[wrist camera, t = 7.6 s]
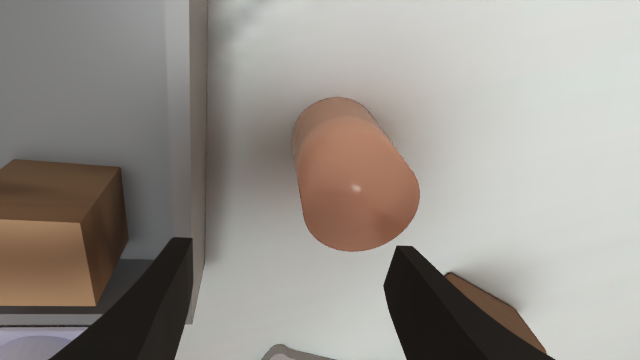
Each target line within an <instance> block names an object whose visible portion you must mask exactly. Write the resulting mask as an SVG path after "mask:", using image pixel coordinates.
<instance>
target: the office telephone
mask: <svg viewBox="0 0 640 360" xmlns="http://www.w3.org/2000/svg"><path fill="white" fill-rule="evenodd" d="M262 360H335V359H330V358H325V357H321V356H317V355H313V354H309V353H304V352H300V351H296V350H292V349H289V348H287V347H286V346H285V345H282V344H277V345H274V346H273V347H272V348H271V349H270V350H269V351H268V352H267V353H266V354H265V356H264V357H263V358H262Z"/></svg>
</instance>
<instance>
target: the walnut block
mask: <svg viewBox="0 0 640 360" xmlns="http://www.w3.org/2000/svg"><path fill="white" fill-rule="evenodd" d="M128 241H129V237H128V229H127V220H126V211H125V203H124V194H123V185H122V177H121V168H120V167H114V166H101V165H87V164H74V163H61V162H47V161H34V160H21V159H13V160H12V161H10V162H9V163H8V164H6V165H5V166H4V167H2V168H1V169H0V306H96V305H97V303H98V301H99V299H100V297H101V295H102V293H103V291H104V289H105V287H106V285H107V283H108V281H109V279H110V277H111V275H112V273H113V271H114V269H115V267H116V265H117V263H118V261H119V259H120V257H121V255H122V253H123V251H124V249H125V247H126V245H127V243H128Z"/></svg>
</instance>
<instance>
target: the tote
mask: <svg viewBox="0 0 640 360" xmlns="http://www.w3.org/2000/svg"><path fill="white" fill-rule="evenodd" d="M207 45H208V0H0V169H1V168H2V167H4V166H5V165H6V164H8V163H9V162H10V161H12V160H13V159H21V160H34V161H47V162H61V163H74V164H87V165H101V166H114V167H120V168H121V177H122V185H123V194H124V203H125V211H126V220H127V229H128V237H129V241H128V243H127V245H126V247H125V249H124V251H123V253H122V255H121V257H120V259H119V261H118V263H117V265H116V267H115V269H114V271H113V273H112V275H111V277H110V279H109V281H108V283H107V285H106V287H105V289H104V291H103V293H102V295H101V297H100V299H99V301H98V303H97V305H96V306H0V325H92V324H93V323H94V322H95V321H96V320H97V319H99V318H100V317H101V316H102V315H103V314H104V313H105V312H106V311H107V310H108V309H109V308H110V307H111V306H112V305H114V304H115V303H116V301H117V300H118V299H119V298H120V297H121V296H122V295H123V294H124V293H125V292H126V291H127V290H128V289H129V288H130V287H131V286H132V285H133V284H134V283H135V282H136V281H137V280H138V278H139V277H140V276H141V275H142V274H143V273H144V272H145V270H146V269H147V268H148V267H149V266H150V265H151V263H152V262H153V261H154V260H155V259H156V257H157V256H158V255H159V254H160V252H161V251H162V250H163V248H164V247H165V246H166V244H167V243H168V242H169V240H170V239H171V238H173V237H185V238H193V278H194V283H193V289H192V295H191V301H190V306H189V311H188V315H187V318H186V322H185V324H192V323H193V318H194V313H195V308H196V303H197V298H198V293H199V288H200V283H201V278H202V273H203V268H204V263H205V204H206V124H207Z"/></svg>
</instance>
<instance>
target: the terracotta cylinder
mask: <svg viewBox="0 0 640 360" xmlns="http://www.w3.org/2000/svg"><path fill="white" fill-rule="evenodd" d="M292 149H293V155H294V161H295V167H296V173H297V179H298V185H299V192H300V198H301V204H302V210H303V216H304V220H305V223H306V226H307V228H308V229H309V231H310V233H311V234H312V235H313V236H314V237H315V238H316V239H317V240H318V241H320V242H321V243H323V244H324V245H326V246H328V247H330V248H333V249H336V250H341V251H349V252H354V251H365V250H369V249H373V248H376V247H379V246H381V245H384V244H386V243H387V242H389V241H391V240H392V239H394V238H395V237H397V236H398V235H399V234H400V233H401V232H403V230H404V229H405V228H406V227H407V226H408V225H409V223H410V222H411V221H412V219H413V217H414V216H415V213H416V211H417V208H418V204H419V198H420V190H419V184H418V181H417V179H416V177H415V175H414V173H413V172H412V170H411V169H410V168H409V166H408V165H407V163H406V162H405V161H404V159H403V158H402V157H401V155H400V154H399V153H398V151H397V150H396V149H395V147H394V146H393V144H392V143H391V142H390V140H389V139H388V138H387V136H386V135H385V134H384V132H383V131H382V130H381V128H380V127H379V126H378V124H377V123H376V121H375V120H374V119H373V117H372V116H371V115H370V113H369V112H368V111H367V110H366V109H365V108H364V107H363V106H362V105H361V104H359V103H357V102H355V101H354V100H351V99H348V98H342V97H332V98H326V99H323V100H320V101H318V102H316V103H314V104H312V105H311V106H309V107H308V108H307V109H306V110H304V112H303V113H302V114H301V115H300V116H299V118H298V119H297V121H296V123H295V125H294V128H293V132H292Z"/></svg>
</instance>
